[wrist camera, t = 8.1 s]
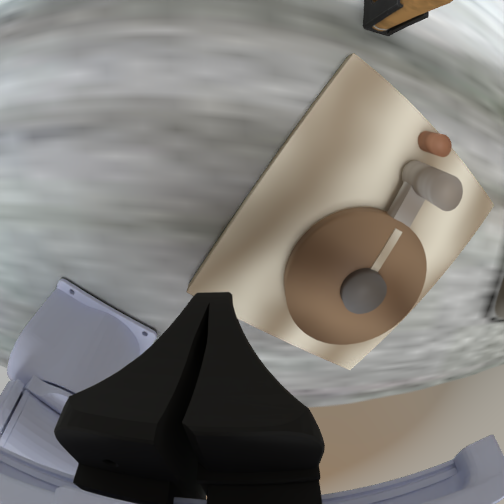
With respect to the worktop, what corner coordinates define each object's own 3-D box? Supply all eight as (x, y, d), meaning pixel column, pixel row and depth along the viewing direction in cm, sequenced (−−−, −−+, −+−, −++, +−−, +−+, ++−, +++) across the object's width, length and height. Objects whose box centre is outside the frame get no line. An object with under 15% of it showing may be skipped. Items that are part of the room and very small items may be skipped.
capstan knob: (368, 343, 23) (384, 380, 20) (259, 309, 21) (261, 350, 18) (465, 196, 18) (500, 217, 14) (358, 121, 16) (389, 126, 12)
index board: (188, 284, 22) (181, 309, 19) (348, 55, 15) (365, 47, 12) (347, 362, 26) (355, 386, 23) (486, 201, 19) (509, 214, 17)
